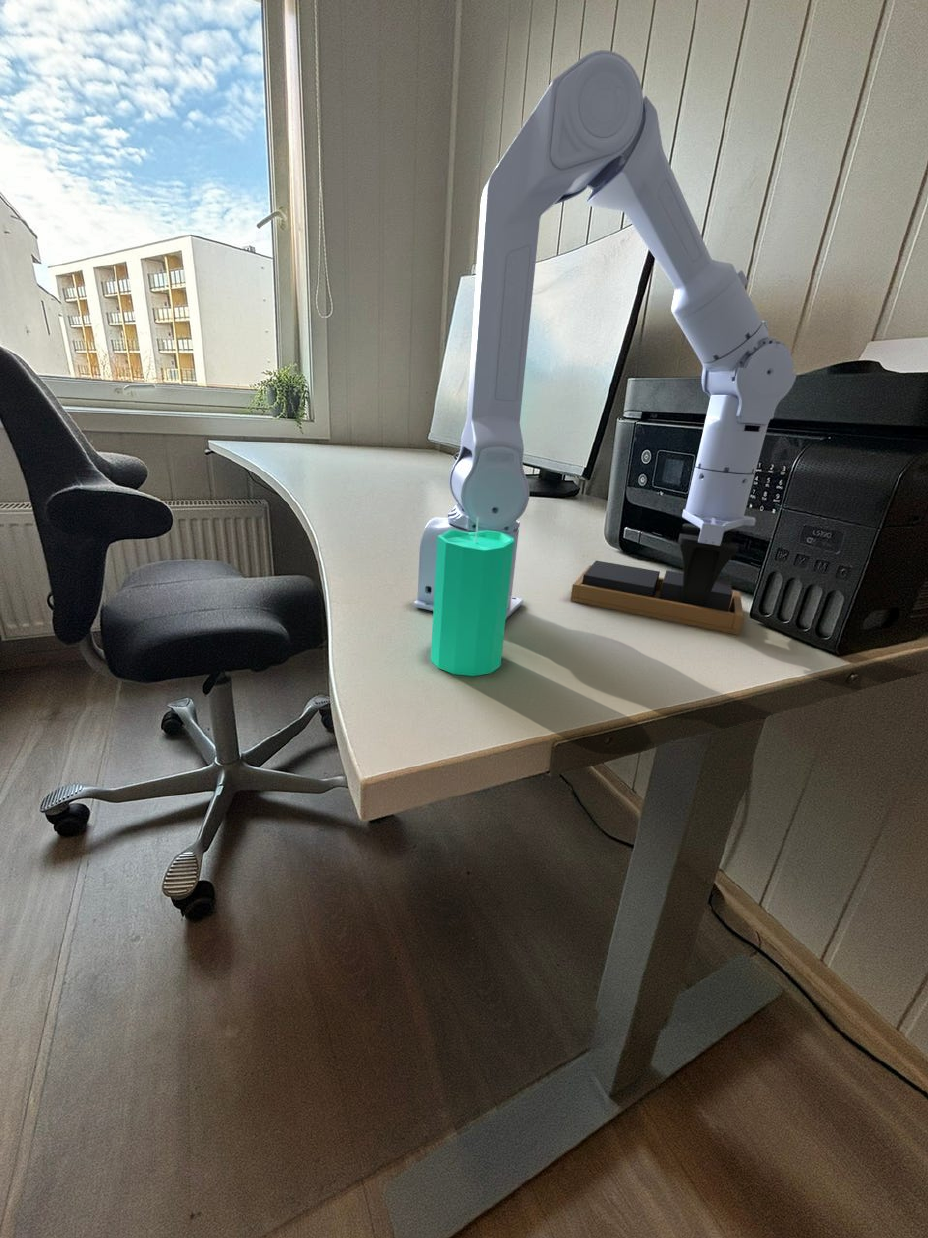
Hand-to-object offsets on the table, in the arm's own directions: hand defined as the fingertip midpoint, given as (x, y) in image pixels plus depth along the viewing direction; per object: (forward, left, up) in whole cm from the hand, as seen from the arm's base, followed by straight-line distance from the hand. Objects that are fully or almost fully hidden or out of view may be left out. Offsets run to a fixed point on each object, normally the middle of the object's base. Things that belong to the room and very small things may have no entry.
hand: (693, 595), depth 61 cm
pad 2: (0, 0, -1) cm, 1 cm away
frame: (-4, 0, -2) cm, 4 cm away
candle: (-17, -25, -2) cm, 30 cm away
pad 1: (-8, 0, -2) cm, 8 cm away
